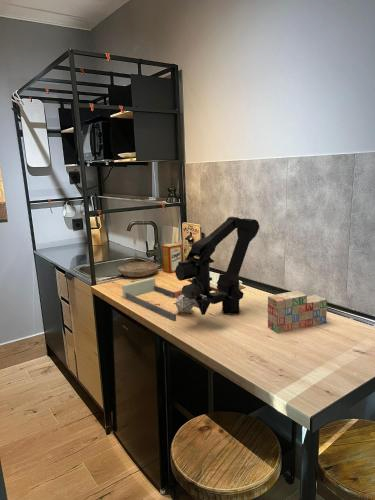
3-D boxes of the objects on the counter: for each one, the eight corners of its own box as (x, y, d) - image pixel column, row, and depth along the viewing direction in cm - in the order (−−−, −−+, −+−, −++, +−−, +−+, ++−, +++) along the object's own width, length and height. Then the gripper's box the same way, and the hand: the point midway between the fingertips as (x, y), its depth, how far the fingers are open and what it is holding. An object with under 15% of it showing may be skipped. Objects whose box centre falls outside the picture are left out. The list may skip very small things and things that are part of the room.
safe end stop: (155, 290, 183) (155, 278, 182) (125, 298, 173) (124, 286, 172) (152, 289, 185) (152, 277, 184) (123, 297, 175) (122, 284, 173)
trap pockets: (210, 300, 165) (210, 295, 165) (195, 305, 160) (195, 300, 159) (188, 292, 177) (188, 287, 177) (173, 297, 172) (173, 292, 171)
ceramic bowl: (167, 273, 213) (167, 265, 212) (133, 282, 198) (133, 273, 197) (143, 267, 230) (142, 259, 229) (110, 275, 214) (109, 266, 213)
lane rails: (206, 310, 154) (206, 304, 154) (174, 321, 144) (174, 315, 144) (155, 290, 183) (155, 285, 183) (125, 298, 173) (125, 293, 172)
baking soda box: (176, 268, 223) (174, 242, 220) (183, 270, 218) (181, 243, 215) (163, 271, 217) (161, 244, 214) (170, 273, 212) (168, 246, 209)
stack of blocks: (315, 317, 143) (316, 286, 140) (326, 323, 137) (327, 291, 135) (267, 327, 136) (267, 295, 133) (277, 334, 130) (277, 300, 127)
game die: (188, 319, 154) (201, 299, 155) (186, 320, 146) (199, 298, 147) (170, 308, 156) (183, 288, 157) (167, 308, 148) (180, 286, 148)
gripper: (170, 275, 142) (171, 313, 145) (202, 285, 128) (203, 327, 131) (192, 269, 149) (193, 306, 152) (225, 278, 135) (226, 319, 138)
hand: (203, 314), depth 143 cm, fingers closed
